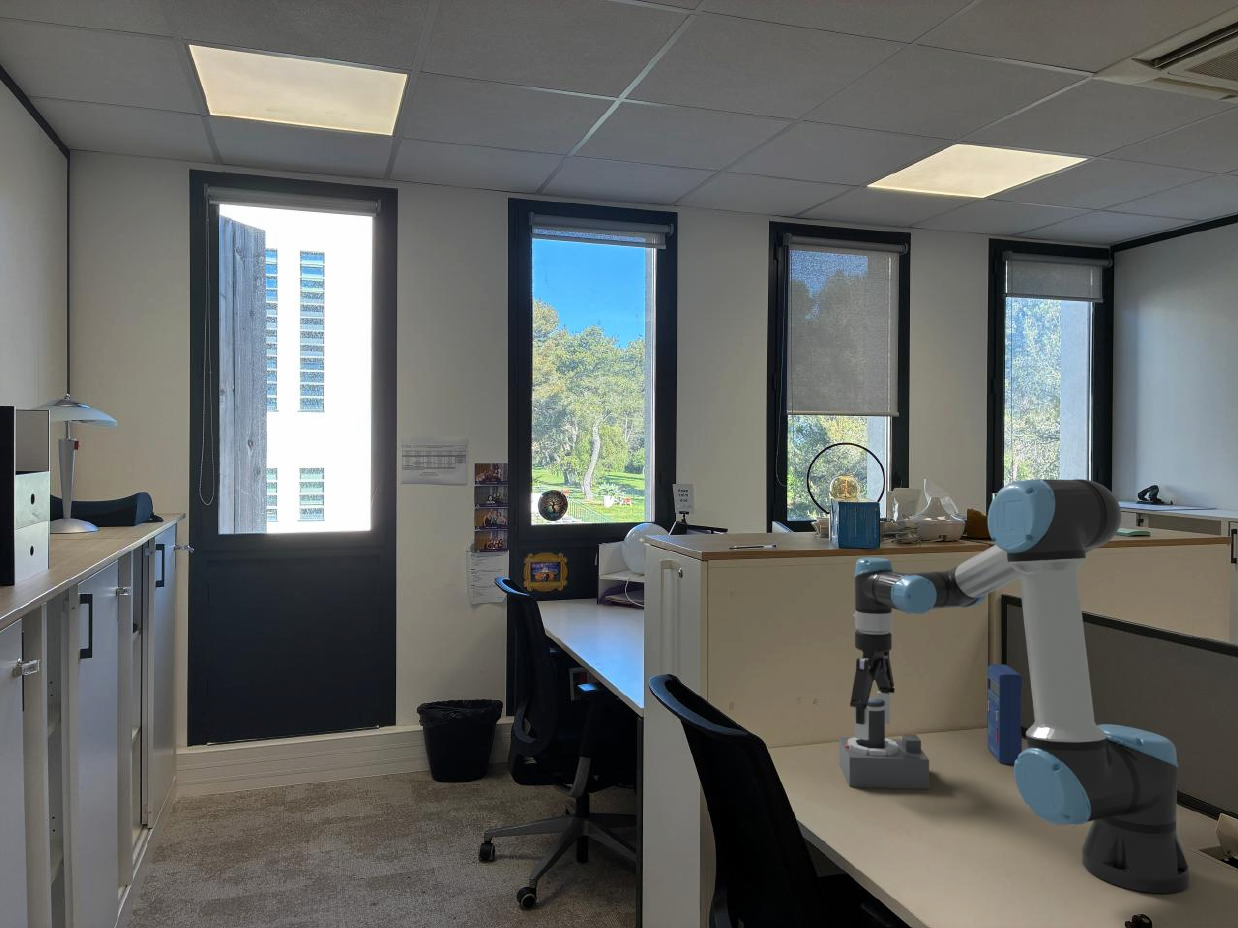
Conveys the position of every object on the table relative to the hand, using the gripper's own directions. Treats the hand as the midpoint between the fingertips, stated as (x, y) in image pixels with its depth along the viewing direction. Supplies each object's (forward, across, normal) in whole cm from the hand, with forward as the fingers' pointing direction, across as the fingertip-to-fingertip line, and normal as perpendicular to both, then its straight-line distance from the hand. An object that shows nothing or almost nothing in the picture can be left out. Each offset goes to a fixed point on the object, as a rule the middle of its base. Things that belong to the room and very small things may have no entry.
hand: (872, 730), depth 188 cm
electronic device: (+10, -29, +20) cm, 37 cm away
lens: (+4, 0, 0) cm, 4 cm away
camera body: (+10, -1, +2) cm, 10 cm away
